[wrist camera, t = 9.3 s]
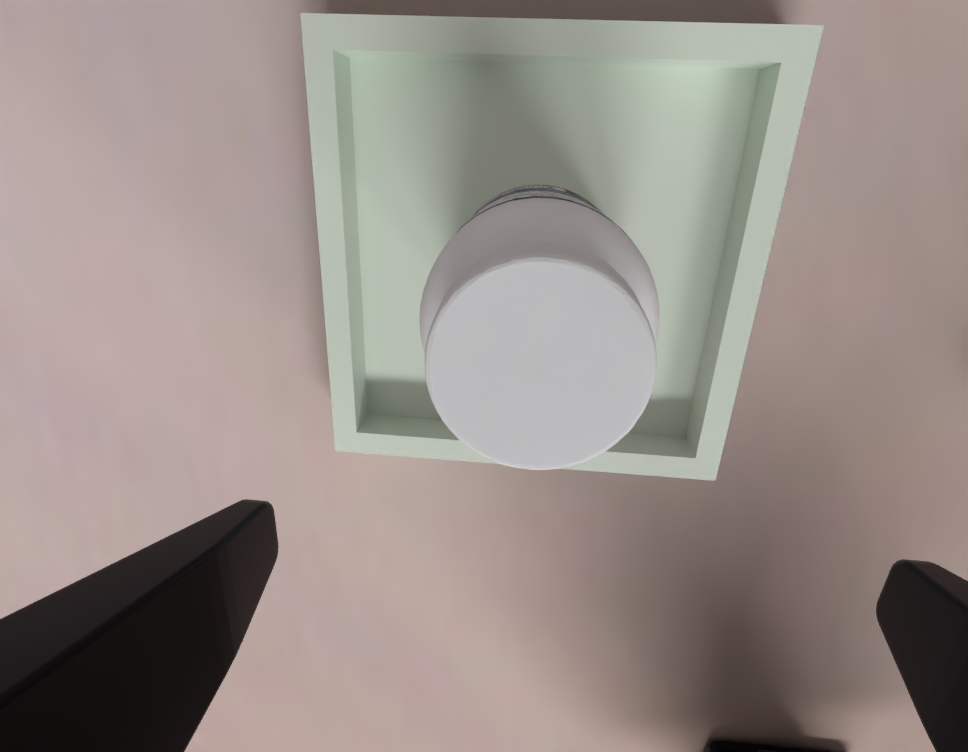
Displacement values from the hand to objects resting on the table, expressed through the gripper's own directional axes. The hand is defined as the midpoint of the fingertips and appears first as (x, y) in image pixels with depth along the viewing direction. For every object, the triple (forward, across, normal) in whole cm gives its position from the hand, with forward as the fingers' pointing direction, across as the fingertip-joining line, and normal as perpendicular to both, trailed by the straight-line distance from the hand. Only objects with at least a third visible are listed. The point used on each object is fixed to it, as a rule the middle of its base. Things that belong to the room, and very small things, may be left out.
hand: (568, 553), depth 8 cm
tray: (+12, +1, -2) cm, 12 cm away
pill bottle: (+11, +1, -2) cm, 11 cm away
